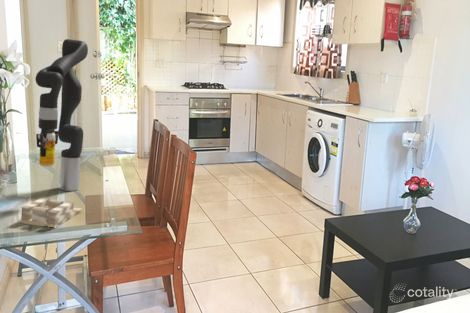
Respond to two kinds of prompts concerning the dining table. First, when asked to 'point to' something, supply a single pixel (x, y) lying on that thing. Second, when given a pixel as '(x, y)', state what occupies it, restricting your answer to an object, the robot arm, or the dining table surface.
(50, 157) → the yellow and white bottle
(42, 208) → the jig
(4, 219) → the dining table surface
